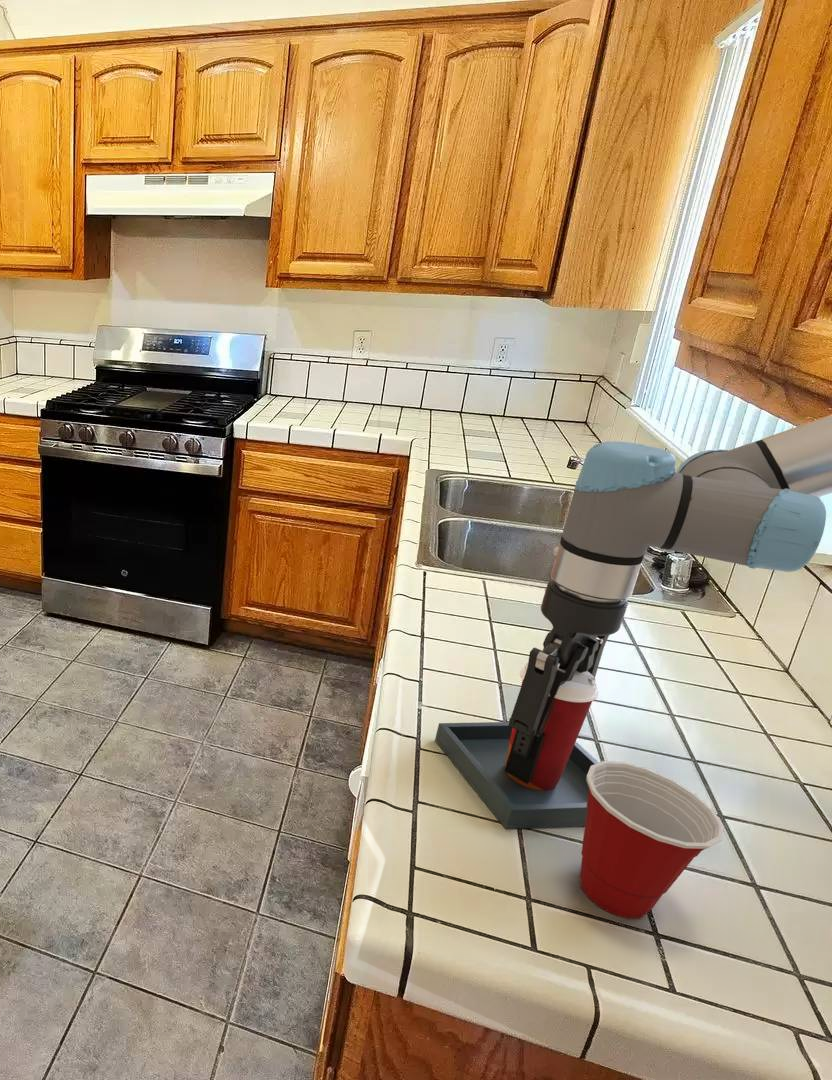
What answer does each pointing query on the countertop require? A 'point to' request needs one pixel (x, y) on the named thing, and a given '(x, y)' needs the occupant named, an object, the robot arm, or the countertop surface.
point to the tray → (512, 803)
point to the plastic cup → (639, 836)
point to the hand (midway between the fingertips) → (533, 765)
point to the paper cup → (560, 729)
